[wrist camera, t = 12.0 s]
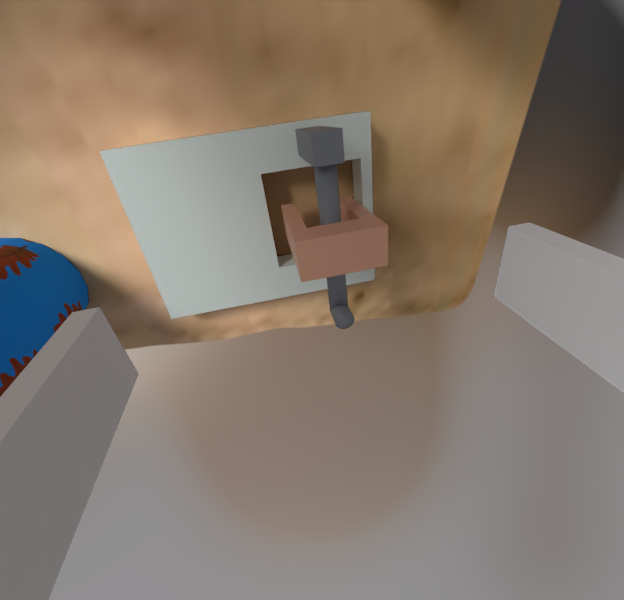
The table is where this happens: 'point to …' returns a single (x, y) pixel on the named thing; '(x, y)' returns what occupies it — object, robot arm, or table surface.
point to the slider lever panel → (236, 209)
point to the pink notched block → (337, 242)
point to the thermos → (33, 301)
